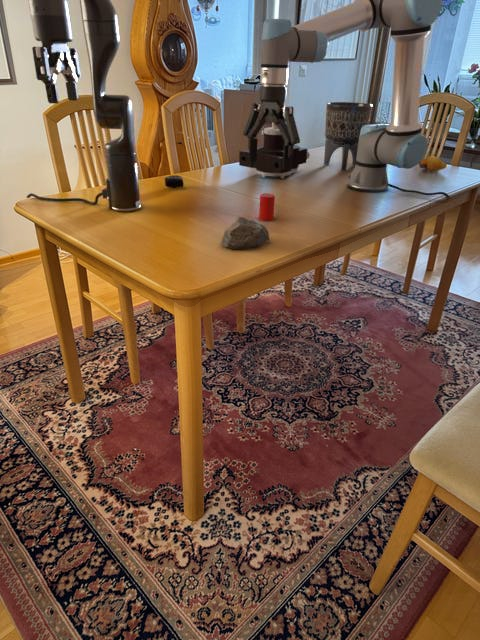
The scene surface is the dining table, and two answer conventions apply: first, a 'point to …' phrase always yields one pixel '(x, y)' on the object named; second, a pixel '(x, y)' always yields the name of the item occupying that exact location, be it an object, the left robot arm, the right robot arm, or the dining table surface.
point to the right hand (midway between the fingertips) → (268, 165)
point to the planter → (345, 128)
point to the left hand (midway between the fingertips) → (64, 101)
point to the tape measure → (174, 181)
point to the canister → (266, 207)
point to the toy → (432, 164)
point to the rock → (245, 234)
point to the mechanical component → (273, 155)
